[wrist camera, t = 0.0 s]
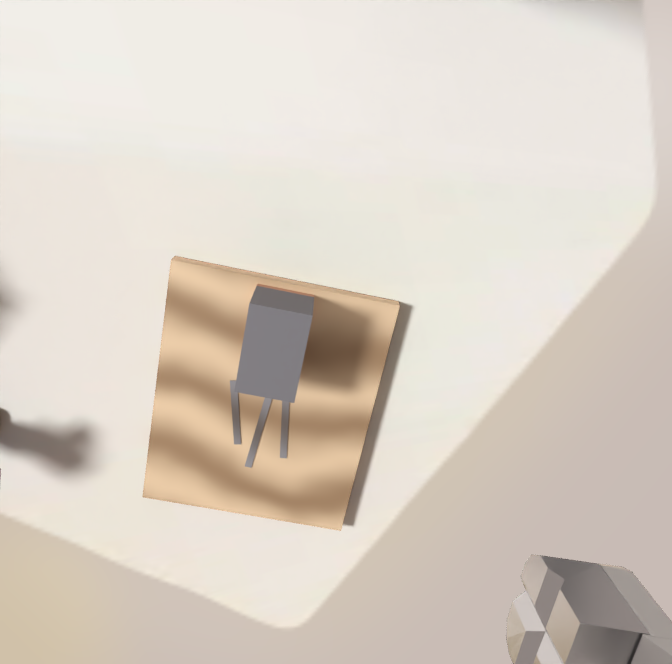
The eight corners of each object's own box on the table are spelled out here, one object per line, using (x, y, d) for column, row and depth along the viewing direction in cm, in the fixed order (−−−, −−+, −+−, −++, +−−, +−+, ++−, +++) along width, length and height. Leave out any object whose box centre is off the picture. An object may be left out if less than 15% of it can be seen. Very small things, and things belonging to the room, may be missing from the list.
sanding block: (257, 283, 47) (249, 303, 42) (314, 294, 47) (312, 315, 42) (243, 364, 49) (234, 391, 44) (297, 375, 49) (294, 402, 45)
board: (174, 255, 47) (170, 259, 46) (398, 301, 49) (400, 306, 47) (146, 489, 55) (142, 497, 53) (340, 522, 56) (340, 531, 55)
